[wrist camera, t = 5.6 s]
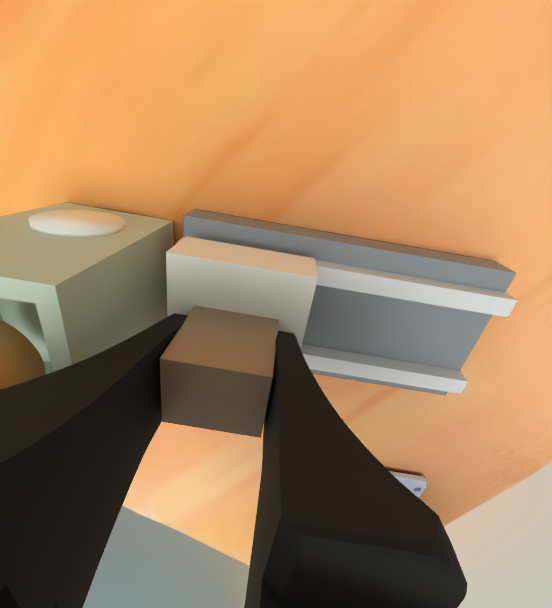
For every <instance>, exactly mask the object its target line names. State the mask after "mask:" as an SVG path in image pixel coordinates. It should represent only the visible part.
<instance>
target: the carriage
mask: <svg viewBox="0 0 552 608" xmlns="http://www.w3.org/2000/svg"><path fill="white" fill-rule="evenodd" d="M166 275H167V317H168V316H170V315H172V314H174V313H176V314H182V315H188V317H187V318H186V320H185V322H184V323H183V325H182V326H181V328H180V329H179V330H178V332H177V333H176V335H175V336H174V338H173V339H172V341H171V342H170V344H169V345H168V347H167V348H166V350H165V351H164V353H163V354H162V356H161V357H160V383H161V409H162V422H168V423H174V424H180V425H187V426H193V427H199V428H205V429H211V430H217V431H223V432H230V433H236V434H242V435H248V436H254V437H260V438H261V434H262V429H263V424H264V418H265V413H266V408H267V403H268V398H269V393H270V388H271V383H272V378H273V369H274V360H275V351H276V336H277V333H278V331H283V332H289V333H294V334H295V336H296V338H297V341H298V344H299V346H300V349H301V346H302V342H303V338H304V334H305V329H306V325H307V321H308V317H309V313H310V309H311V305H312V300H313V296H314V292H315V288H316V284H317V280H318V275H317V269H316V263H315V258H310V257H304V256H299V255H293V254H287V253H281V252H275V251H269V250H264V249H258V248H252V247H246V246H240V245H235V244H229V243H223V242H217V241H211V240H205V239H200V238H194V237H188V236H186V237H185V238H184V239H183V240H181V241H180V242H179V243H177V244H176V245H175V246H173V247H172V248H171V249H169V250H168V251H167V252H166Z"/></svg>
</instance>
